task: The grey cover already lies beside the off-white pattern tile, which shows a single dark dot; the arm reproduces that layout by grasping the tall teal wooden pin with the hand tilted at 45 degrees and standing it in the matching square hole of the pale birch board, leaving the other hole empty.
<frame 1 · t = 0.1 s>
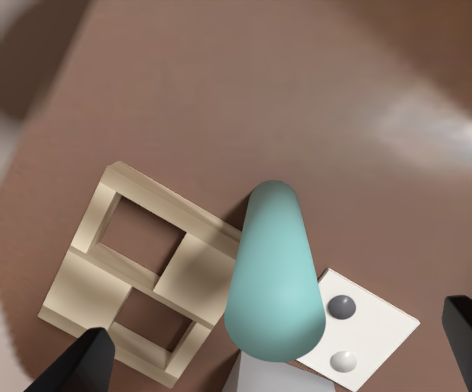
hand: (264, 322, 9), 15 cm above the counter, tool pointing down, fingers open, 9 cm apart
pin: (273, 204, 24), on the counter
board: (151, 274, 27), on the counter
pattern tile: (341, 331, 27), on the counter
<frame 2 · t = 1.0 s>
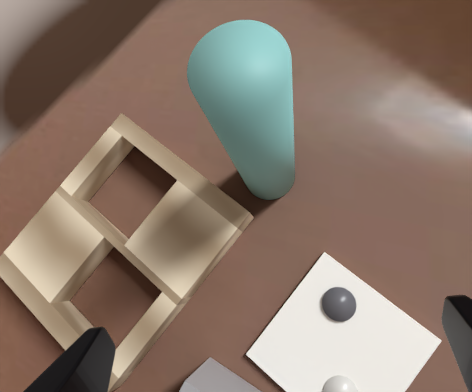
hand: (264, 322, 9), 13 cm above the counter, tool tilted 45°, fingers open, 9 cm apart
pin: (269, 175, 24), on the counter
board: (128, 243, 24), on the counter
pattern tile: (338, 346, 21), on the counter
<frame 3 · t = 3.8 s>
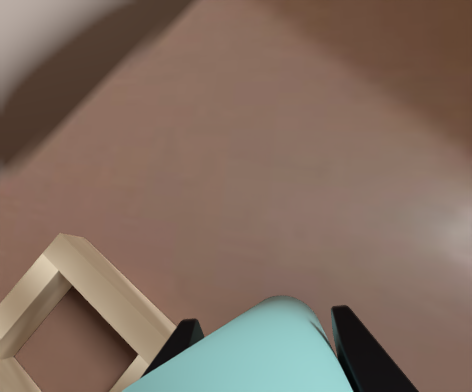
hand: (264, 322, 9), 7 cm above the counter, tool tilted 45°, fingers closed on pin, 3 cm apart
pin: (283, 335, 15), on the counter, touching gripper
when the fingers open (8 cm above the counter, at t = 7.1 s): pin stays where it is, resting in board.
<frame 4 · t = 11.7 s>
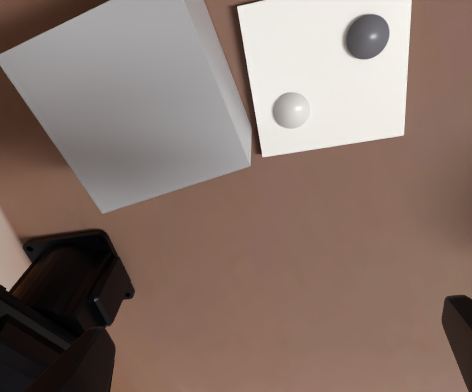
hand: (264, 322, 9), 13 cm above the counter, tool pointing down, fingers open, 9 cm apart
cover: (159, 86, 19), on the counter
pattern tile: (325, 74, 18), on the counter
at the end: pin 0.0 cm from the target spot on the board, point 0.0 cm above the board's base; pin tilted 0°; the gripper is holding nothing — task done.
